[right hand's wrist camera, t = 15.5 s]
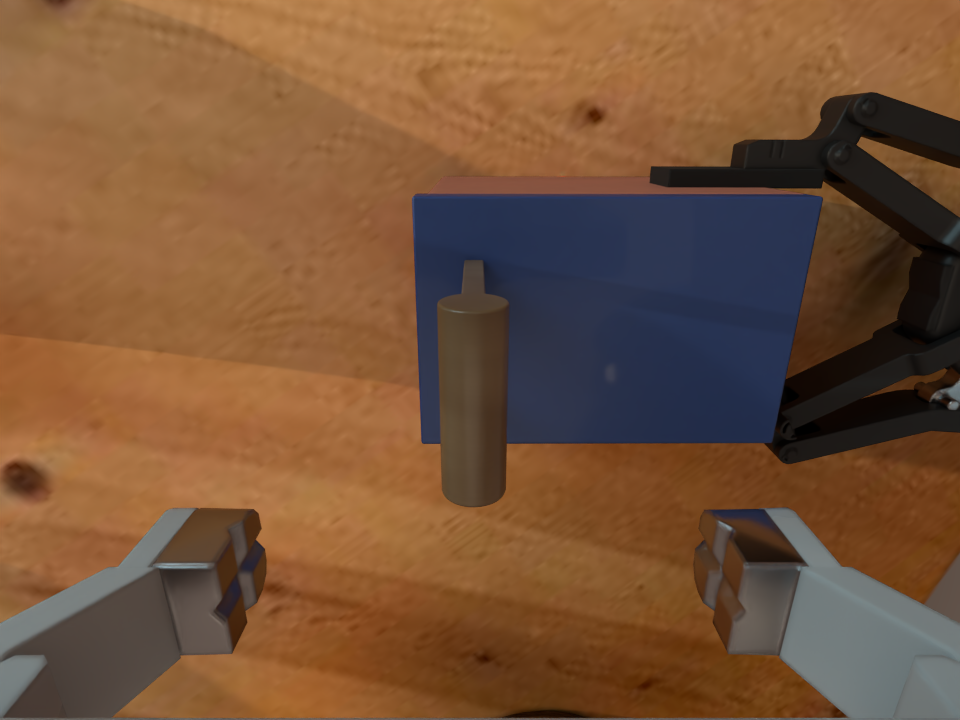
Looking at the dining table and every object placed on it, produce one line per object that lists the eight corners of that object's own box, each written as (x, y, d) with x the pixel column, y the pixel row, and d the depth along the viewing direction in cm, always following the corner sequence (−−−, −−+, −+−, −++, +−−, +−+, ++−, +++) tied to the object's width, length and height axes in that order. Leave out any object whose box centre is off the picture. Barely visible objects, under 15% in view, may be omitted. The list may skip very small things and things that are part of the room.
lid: (423, 430, 25) (399, 568, 17) (414, 193, 21) (378, 225, 13) (759, 430, 25) (893, 566, 17) (806, 194, 21) (1002, 225, 13)
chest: (445, 347, 35) (434, 430, 25) (442, 176, 31) (426, 193, 21) (677, 346, 35) (759, 429, 25) (700, 176, 31) (805, 193, 21)
